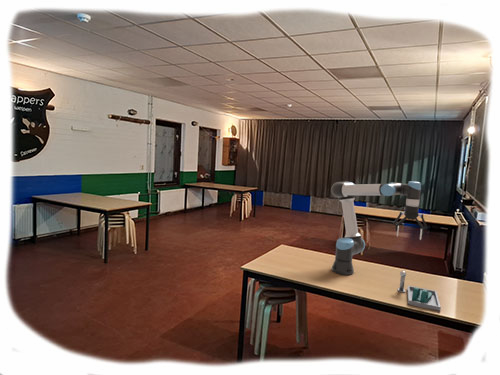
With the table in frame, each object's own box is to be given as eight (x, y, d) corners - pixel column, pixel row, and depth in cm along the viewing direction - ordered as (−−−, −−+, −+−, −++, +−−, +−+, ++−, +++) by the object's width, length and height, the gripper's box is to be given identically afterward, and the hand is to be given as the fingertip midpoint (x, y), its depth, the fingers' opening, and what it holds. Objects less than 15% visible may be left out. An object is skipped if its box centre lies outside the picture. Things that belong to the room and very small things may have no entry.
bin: (408, 304, 187) (408, 300, 187) (407, 289, 209) (407, 285, 209) (440, 311, 181) (440, 307, 181) (435, 294, 203) (436, 291, 202)
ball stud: (397, 291, 205) (399, 271, 204) (397, 289, 209) (399, 269, 207) (404, 292, 203) (407, 273, 202) (404, 290, 207) (406, 270, 206)
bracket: (424, 305, 186) (425, 292, 185) (411, 301, 190) (413, 288, 190) (432, 296, 199) (434, 284, 198) (420, 292, 204) (422, 280, 203)
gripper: (433, 206, 210) (429, 239, 212) (391, 202, 220) (388, 233, 222) (434, 208, 203) (430, 241, 205) (391, 204, 213) (387, 235, 215)
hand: (408, 237), depth 214 cm, fingers open, 13 cm apart
